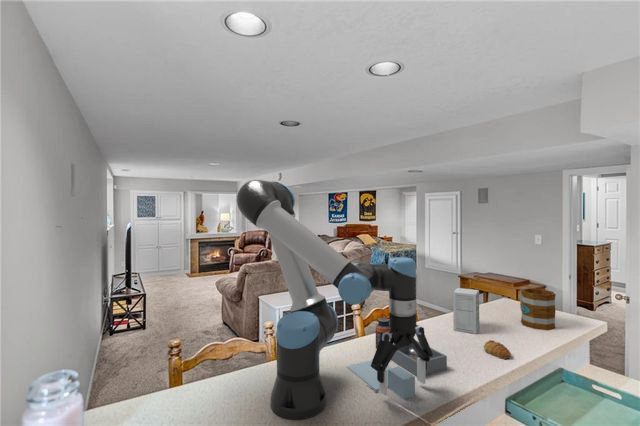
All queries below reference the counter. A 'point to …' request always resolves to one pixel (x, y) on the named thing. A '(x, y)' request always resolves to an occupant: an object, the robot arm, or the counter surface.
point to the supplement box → (466, 310)
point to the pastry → (497, 349)
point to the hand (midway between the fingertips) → (402, 387)
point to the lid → (396, 378)
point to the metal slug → (412, 353)
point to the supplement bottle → (382, 329)
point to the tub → (402, 359)
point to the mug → (538, 308)
